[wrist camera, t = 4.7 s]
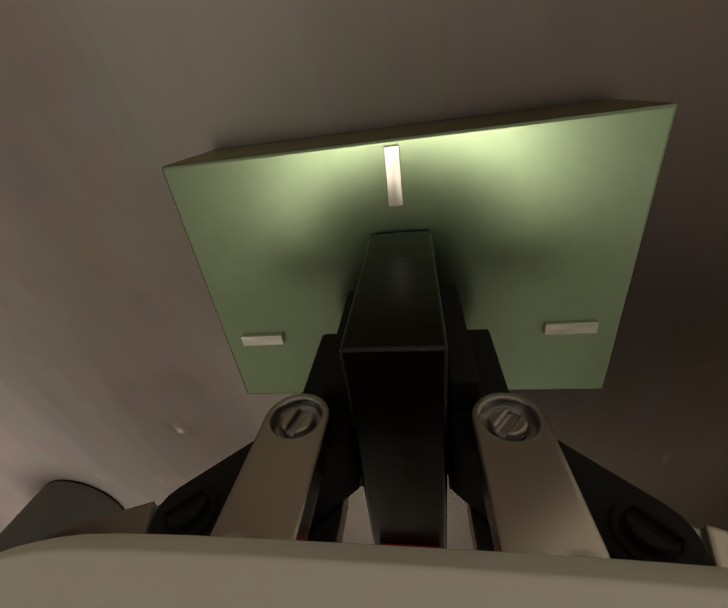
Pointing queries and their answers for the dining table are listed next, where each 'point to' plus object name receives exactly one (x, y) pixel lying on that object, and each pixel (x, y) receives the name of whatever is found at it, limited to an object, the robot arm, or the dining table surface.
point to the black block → (400, 389)
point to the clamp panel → (433, 232)
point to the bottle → (56, 512)
